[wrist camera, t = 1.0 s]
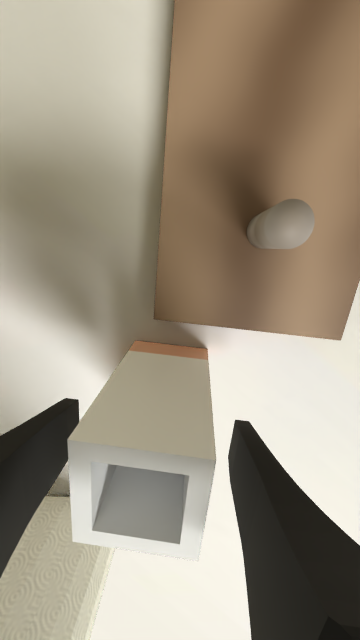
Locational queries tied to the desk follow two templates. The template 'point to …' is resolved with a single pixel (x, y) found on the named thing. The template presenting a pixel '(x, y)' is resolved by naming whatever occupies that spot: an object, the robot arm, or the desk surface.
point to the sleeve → (146, 455)
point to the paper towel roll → (52, 579)
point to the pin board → (262, 167)
